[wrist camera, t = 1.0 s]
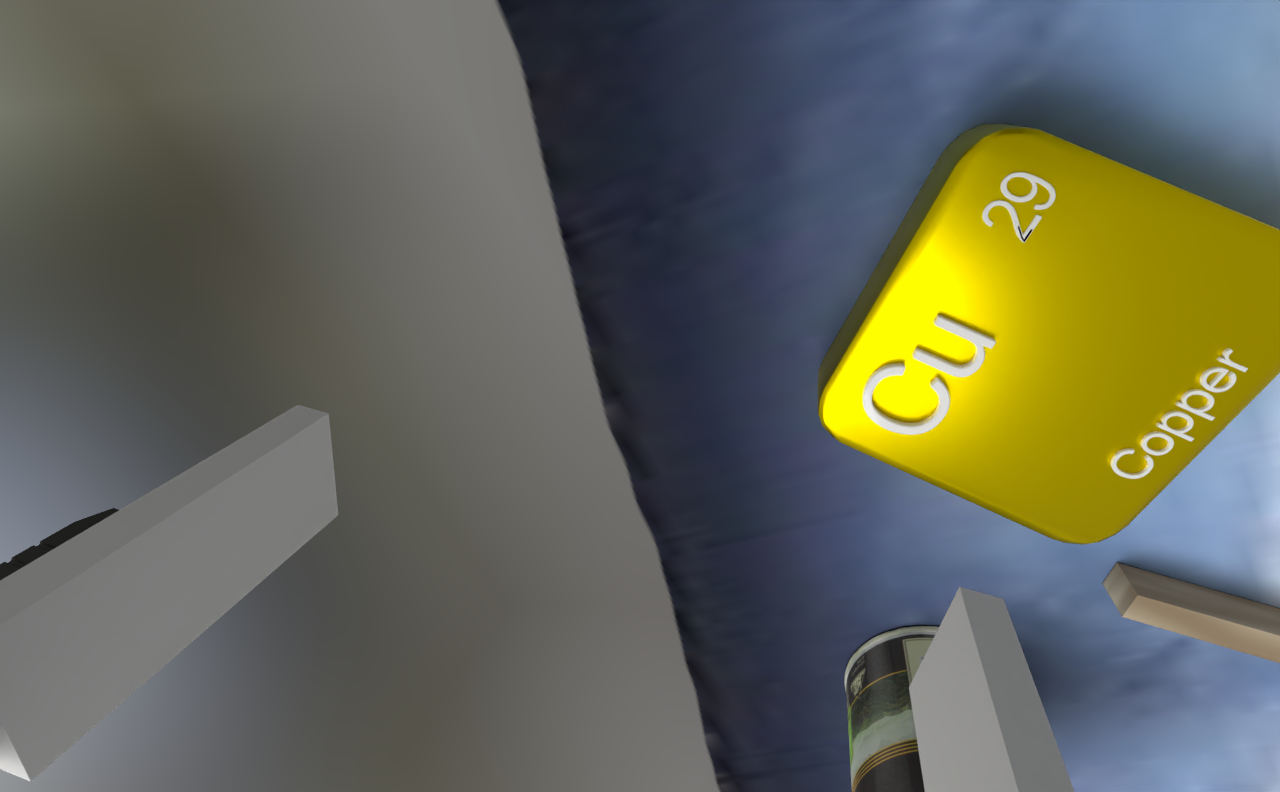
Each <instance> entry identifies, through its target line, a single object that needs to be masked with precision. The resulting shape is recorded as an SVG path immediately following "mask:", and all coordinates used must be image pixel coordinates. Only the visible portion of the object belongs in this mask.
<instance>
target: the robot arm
mask: <svg viewBox="0 0 1280 792" xmlns="http://www.w3.org/2000/svg"><path fill="white" fill-rule="evenodd" d="M337 515H338V509H337V497H336V487H335V477H334V466H333V455H332V445H331V435H330V424H329V414H328V413H324V412H321V411H317V410H314V409H310V408H306V407H303V406H299V405H297V406H295V407H293V408H292V409H290V410H288V411H287V412H285V413H283V414H282V415H280V416H278V417H277V418H275V419H273V420H271V421H270V422H268V423H266V424H265V425H263V426H261V427H260V428H258V429H256V430H254V431H253V432H251V433H249V434H248V435H246V436H244V437H243V438H241V439H239V440H238V441H236V442H234V443H233V444H231V445H229V446H227V447H226V448H224V449H222V450H221V451H219V452H217V453H216V454H214V455H212V456H211V457H209V458H207V459H205V460H204V461H202V462H200V463H199V464H197V465H195V466H194V467H192V468H190V469H188V470H187V471H185V472H183V473H182V474H180V475H178V476H177V477H175V478H173V479H171V480H170V481H168V482H166V483H165V484H163V485H161V486H160V487H158V488H156V489H155V490H153V491H151V492H150V493H148V494H146V495H144V496H143V497H141V498H139V499H138V500H136V501H134V502H133V503H131V504H129V505H127V506H126V507H124V508H122V509H121V510H117V509H115V508H113V509H110V510H107V511H104V512H101V513H99V514H96V515H93V516H90V517H87V518H84V519H82V520H79V521H76V522H74V523H72V524H70V525H68V526H67V527H65V528H63V529H61V530H60V531H58V532H56V533H55V534H53V535H51V536H49V537H47V538H46V539H44V540H42V541H41V542H40V544H39V545H38V546H32V547H30V548H28V549H26V550H25V551H23V552H21V553H19V554H18V555H16V556H14V557H13V558H12V560H11V561H10V562H9V563H6V562H3V563H2V564H0V769H2V770H4V771H6V772H9V773H11V774H14V775H16V776H19V777H21V778H23V779H26V780H28V781H32V780H33V779H34V778H35V777H37V776H38V775H39V774H40V773H41V772H42V771H44V770H45V769H46V768H47V767H48V766H49V765H51V764H52V763H53V762H54V761H55V760H56V759H58V757H60V756H61V755H62V754H63V753H64V752H66V751H67V750H68V749H69V748H70V747H71V746H73V745H74V744H75V743H76V742H77V741H78V740H79V739H80V738H82V737H83V736H84V735H85V734H86V733H87V732H89V731H90V730H91V729H92V728H93V727H94V726H96V725H97V724H98V723H99V722H100V721H101V720H102V719H104V718H105V717H106V716H107V715H108V714H109V713H110V712H112V711H113V710H114V709H115V708H116V707H117V706H119V705H120V704H121V703H122V702H123V701H124V700H125V699H126V698H127V697H129V696H130V695H131V694H132V693H134V692H135V690H137V689H138V688H139V687H140V686H142V685H143V684H144V683H145V682H146V681H147V680H149V679H150V678H151V677H152V676H153V675H154V674H155V673H157V672H158V671H159V670H160V669H161V668H162V667H163V666H165V665H166V664H167V663H168V662H169V661H170V660H171V659H173V658H174V657H175V656H176V655H177V654H178V653H180V652H181V651H182V650H183V649H184V648H185V647H186V646H188V645H189V644H190V643H191V642H192V641H193V640H194V639H196V638H197V637H198V636H199V635H200V634H201V633H203V632H204V631H205V630H206V629H207V628H208V627H210V626H211V625H212V624H213V623H214V622H215V621H216V620H217V619H219V618H220V617H221V616H222V615H223V614H224V613H226V612H227V611H228V610H229V609H230V608H231V607H232V606H234V605H235V604H236V603H237V602H238V601H239V600H240V599H242V598H243V597H244V596H245V595H246V594H248V593H249V592H250V591H251V590H252V589H253V588H254V587H256V586H257V585H258V584H259V583H260V582H261V581H262V580H264V579H265V578H266V577H267V576H268V575H269V574H270V573H272V572H273V571H274V570H275V569H276V568H277V567H279V566H280V565H281V564H282V563H283V562H284V561H285V560H287V559H288V558H289V557H290V556H291V555H292V554H294V553H295V552H296V551H297V550H298V549H299V548H300V547H302V546H303V545H304V544H305V543H306V542H307V541H309V540H310V539H311V538H312V537H313V536H314V535H315V534H316V533H318V532H319V531H320V530H321V529H322V528H323V527H325V526H326V525H327V524H328V523H329V522H330V521H332V520H333V519H334V518H335V517H336V516H337ZM909 692H910V698H911V705H912V711H913V718H914V724H915V731H916V737H917V744H918V750H919V757H920V763H921V770H922V776H923V783H924V789H925V792H1074V789H1073V786H1072V783H1071V781H1070V778H1069V775H1068V773H1067V770H1066V767H1065V764H1064V762H1063V759H1062V756H1061V754H1060V751H1059V748H1058V746H1057V743H1056V740H1055V737H1054V735H1053V732H1052V729H1051V727H1050V724H1049V721H1048V718H1047V716H1046V713H1045V710H1044V708H1043V705H1042V702H1041V699H1040V697H1039V694H1038V691H1037V689H1036V686H1035V683H1034V680H1033V678H1032V675H1031V672H1030V670H1029V667H1028V664H1027V661H1026V659H1025V656H1024V653H1023V651H1022V648H1021V645H1020V643H1019V640H1018V637H1017V634H1016V632H1015V629H1014V626H1013V624H1012V621H1011V618H1010V615H1009V613H1008V610H1007V607H1006V605H1005V602H1004V599H1002V598H998V597H995V596H991V595H987V594H984V593H980V592H976V591H973V590H969V589H966V588H962V587H959V589H958V591H957V593H956V595H955V597H954V599H953V601H952V603H951V605H950V607H949V609H948V611H947V613H946V615H945V617H944V619H943V621H942V623H941V625H940V627H939V629H938V631H937V633H936V635H935V637H934V639H933V641H932V643H931V645H930V647H929V649H928V651H927V652H926V654H925V656H924V658H923V660H922V662H921V664H920V666H919V668H918V670H917V672H916V674H915V676H914V678H913V680H912V682H911V684H910V686H909Z"/></svg>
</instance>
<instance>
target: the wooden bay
mask: <svg viewBox="0 0 1280 792" xmlns="http://www.w3.org/2000/svg"><path fill="white" fill-rule="evenodd" d="M1103 585H1104V587H1105V589H1106V590H1107V592H1108V594H1109V595H1110V597H1111V599H1112V600H1113V602H1114V604H1115V605H1116V607H1117V609H1118V611H1119V612H1120V614H1121V616H1122V617H1125V618H1128V619H1132V620H1135V621H1138V622H1142V623H1145V624H1149V625H1152V626H1155V627H1159V628H1162V629H1166V630H1169V631H1172V632H1176V633H1179V634H1183V635H1186V636H1189V637H1193V638H1196V639H1200V640H1203V641H1206V642H1210V643H1213V644H1217V645H1220V646H1223V647H1227V648H1230V649H1234V650H1237V651H1240V652H1244V653H1247V654H1251V655H1254V656H1257V657H1261V658H1264V659H1268V660H1271V661H1274V662H1278V663H1280V608H1276V607H1273V606H1269V605H1265V604H1262V603H1258V602H1255V601H1251V600H1248V599H1244V598H1241V597H1237V596H1234V595H1230V594H1227V593H1223V592H1219V591H1216V590H1212V589H1209V588H1205V587H1202V586H1198V585H1195V584H1191V583H1188V582H1184V581H1181V580H1177V579H1174V578H1170V577H1166V576H1163V575H1159V574H1156V573H1152V572H1149V571H1145V570H1142V569H1138V568H1135V567H1131V566H1128V565H1124V564H1120V563H1116V564H1115V566H1114V567H1113V569H1112V570H1111V572H1110V573H1109V575H1108V576H1107V578H1106V579H1105V580H1104V582H1103Z"/></svg>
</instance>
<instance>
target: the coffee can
mask: <svg viewBox="0 0 1280 792" xmlns="http://www.w3.org/2000/svg"><path fill="white" fill-rule="evenodd" d="M938 629H939V627H935V626H914V627H903V628H899V629H896V630H892V631H888V632H885V633H883V634H880V635H878V636H876V637H874V638H872V639H870V640H869V641H867V642H866V643H865V644H863V645H862V646H861V647H860V648H859V649H858V650H857V651H856V652H855V653H854V654H853V655H852V657H851V659H850V660H849V663H848V665H847V668H846V671H845V690H846V695H847V709H848V729H849V745H850V764H851V784H852V792H925V789H924V783H923V776H922V770H921V763H920V757H919V750H918V744H917V737H916V731H915V724H914V718H913V711H912V705H911V698H910V692H909V686H910V684H911V682H912V680H913V678H914V676H915V674H916V672H917V670H918V668H919V666H920V664H921V662H922V660H923V658H924V656H925V654H926V652H927V651H928V649H929V647H930V645H931V643H932V641H933V639H934V637H935V635H936V633H937V631H938Z"/></svg>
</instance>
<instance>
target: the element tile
mask: <svg viewBox="0 0 1280 792" xmlns="http://www.w3.org/2000/svg"><path fill="white" fill-rule="evenodd" d="M1279 373H1280V229H1278V228H1275V227H1273V226H1270V225H1268V224H1266V223H1263V222H1261V221H1258V220H1256V219H1254V218H1251V217H1249V216H1246V215H1244V214H1242V213H1239V212H1237V211H1234V210H1232V209H1230V208H1227V207H1225V206H1222V205H1220V204H1218V203H1215V202H1213V201H1210V200H1208V199H1206V198H1203V197H1201V196H1198V195H1196V194H1194V193H1191V192H1189V191H1186V190H1184V189H1182V188H1179V187H1177V186H1174V185H1172V184H1170V183H1167V182H1165V181H1162V180H1160V179H1158V178H1155V177H1153V176H1150V175H1148V174H1146V173H1143V172H1141V171H1138V170H1136V169H1134V168H1131V167H1129V166H1126V165H1124V164H1122V163H1119V162H1117V161H1114V160H1112V159H1110V158H1107V157H1105V156H1102V155H1100V154H1098V153H1095V152H1093V151H1090V150H1088V149H1086V148H1083V147H1081V146H1078V145H1076V144H1074V143H1071V142H1069V141H1066V140H1064V139H1062V138H1059V137H1057V136H1054V135H1052V134H1050V133H1047V132H1045V131H1042V130H1040V129H1036V128H1029V127H1022V126H1014V125H1007V124H983V125H980V126H977V127H975V128H972V129H970V130H968V131H965V132H964V133H962V134H961V135H960V136H959V137H958V138H957V139H955V140H954V141H953V142H952V143H951V144H949V145H948V147H947V148H946V149H945V151H944V152H943V153H942V154H941V156H940V157H939V159H938V160H937V162H936V164H935V166H934V167H933V169H932V171H931V173H930V174H929V176H928V178H927V179H926V181H925V183H924V185H923V186H922V188H921V190H920V192H919V193H918V195H917V197H916V199H915V200H914V202H913V204H912V206H911V207H910V209H909V211H908V213H907V214H906V216H905V218H904V220H903V221H902V223H901V225H900V227H899V228H898V230H897V232H896V234H895V235H894V237H893V239H892V240H891V242H890V244H889V246H888V247H887V249H886V251H885V253H884V254H883V256H882V258H881V260H880V261H879V263H878V265H877V267H876V268H875V270H874V272H873V274H872V275H871V277H870V279H869V281H868V282H867V284H866V286H865V288H864V289H863V291H862V293H861V295H860V296H859V298H858V300H857V301H856V303H855V305H854V307H853V308H852V310H851V312H850V314H849V315H848V317H847V319H846V321H845V322H844V324H843V326H842V328H841V329H840V331H839V333H838V335H837V336H836V338H835V340H834V342H833V343H832V345H831V347H830V349H829V350H828V352H827V354H826V356H825V357H824V359H823V361H822V364H821V367H820V369H819V375H818V415H819V418H820V420H821V423H822V426H823V427H824V428H825V429H826V430H827V431H828V432H829V433H830V434H831V435H832V436H833V437H834V438H835V439H837V440H838V441H839V442H841V443H843V444H845V445H847V446H850V447H852V448H854V449H856V450H858V451H861V452H863V453H865V454H867V455H869V456H871V457H874V458H876V459H878V460H880V461H882V462H885V463H887V464H889V465H891V466H893V467H896V468H898V469H900V470H902V471H904V472H907V473H909V474H911V475H913V476H915V477H918V478H920V479H922V480H924V481H926V482H929V483H931V484H933V485H935V486H937V487H940V488H942V489H944V490H946V491H948V492H950V493H953V494H955V495H957V496H959V497H961V498H964V499H966V500H968V501H970V502H972V503H975V504H977V505H979V506H981V507H983V508H986V509H988V510H990V511H992V512H994V513H997V514H999V515H1001V516H1003V517H1005V518H1008V519H1010V520H1012V521H1014V522H1016V523H1019V524H1021V525H1023V526H1025V527H1027V528H1029V529H1032V530H1034V531H1036V532H1038V533H1040V534H1043V535H1045V536H1047V537H1049V538H1051V539H1054V540H1058V541H1061V542H1065V543H1073V544H1089V543H1095V542H1100V541H1102V540H1104V539H1107V538H1109V537H1111V536H1113V535H1115V534H1117V533H1118V532H1119V531H1121V530H1122V529H1123V528H1125V527H1126V526H1127V525H1128V524H1129V523H1130V522H1131V521H1132V520H1133V519H1134V518H1135V517H1136V516H1137V515H1138V514H1139V513H1140V512H1141V511H1142V510H1143V509H1144V508H1145V507H1146V506H1147V505H1148V504H1149V503H1150V502H1151V501H1152V500H1153V499H1154V498H1155V497H1156V496H1157V495H1158V494H1159V493H1160V492H1161V491H1162V490H1163V489H1164V488H1165V487H1166V486H1167V485H1168V484H1169V483H1170V482H1171V481H1172V480H1173V479H1174V478H1175V477H1176V476H1177V475H1178V474H1179V473H1180V472H1181V471H1182V470H1183V469H1184V468H1185V467H1186V466H1187V465H1188V464H1189V463H1190V462H1191V461H1192V460H1193V459H1194V458H1195V457H1196V456H1197V455H1198V454H1199V453H1200V452H1201V451H1202V450H1203V449H1204V448H1205V447H1206V446H1207V445H1208V444H1209V443H1210V442H1211V441H1212V440H1213V439H1214V438H1215V437H1216V436H1217V435H1218V434H1219V433H1220V432H1221V431H1222V430H1223V429H1224V428H1225V427H1226V426H1227V425H1228V424H1229V423H1230V422H1231V421H1232V420H1233V419H1234V418H1235V417H1236V416H1237V415H1238V414H1239V413H1240V412H1241V411H1242V410H1243V409H1244V408H1245V407H1246V406H1247V405H1248V404H1249V403H1250V402H1251V401H1252V400H1253V399H1254V398H1255V397H1256V396H1257V395H1258V394H1259V393H1260V392H1261V391H1262V390H1263V389H1264V388H1265V387H1266V386H1267V385H1268V384H1269V383H1270V382H1271V381H1272V380H1273V379H1274V378H1275V377H1276V376H1277V375H1278V374H1279Z"/></svg>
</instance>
